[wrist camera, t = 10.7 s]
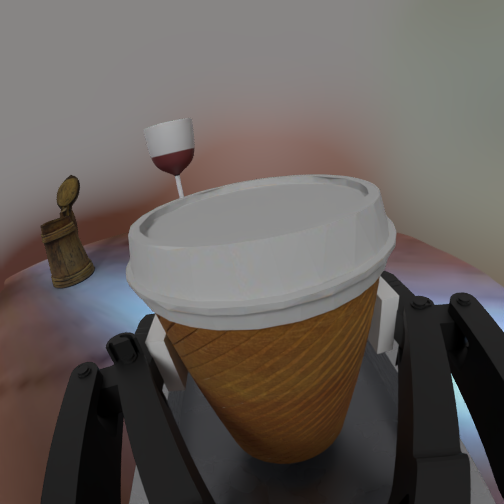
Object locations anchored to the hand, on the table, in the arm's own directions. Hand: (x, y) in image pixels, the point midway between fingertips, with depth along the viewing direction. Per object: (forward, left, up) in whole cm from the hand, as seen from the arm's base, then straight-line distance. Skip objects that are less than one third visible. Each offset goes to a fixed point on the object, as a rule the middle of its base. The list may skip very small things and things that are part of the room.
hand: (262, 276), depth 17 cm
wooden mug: (-43, -18, -10) cm, 47 cm away
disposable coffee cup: (+4, -2, -7) cm, 8 cm away
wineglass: (-41, +5, -10) cm, 42 cm away
